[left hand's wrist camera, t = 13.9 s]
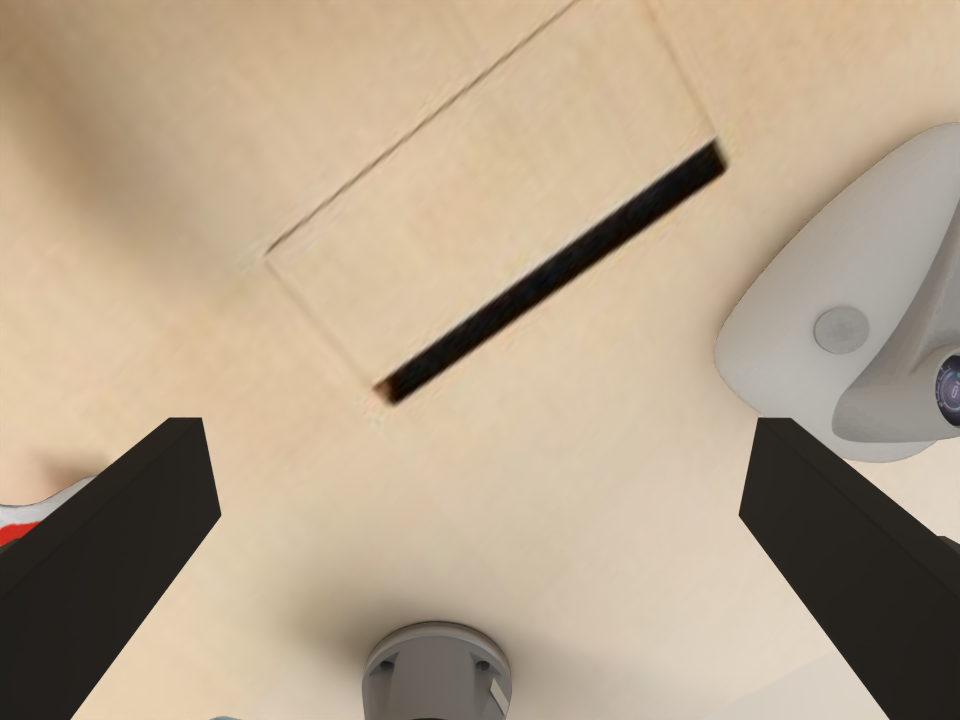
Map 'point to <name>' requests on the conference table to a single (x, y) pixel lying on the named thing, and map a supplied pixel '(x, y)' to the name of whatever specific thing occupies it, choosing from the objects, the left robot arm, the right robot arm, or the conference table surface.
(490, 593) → the conference table surface
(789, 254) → the projector
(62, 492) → the fish
